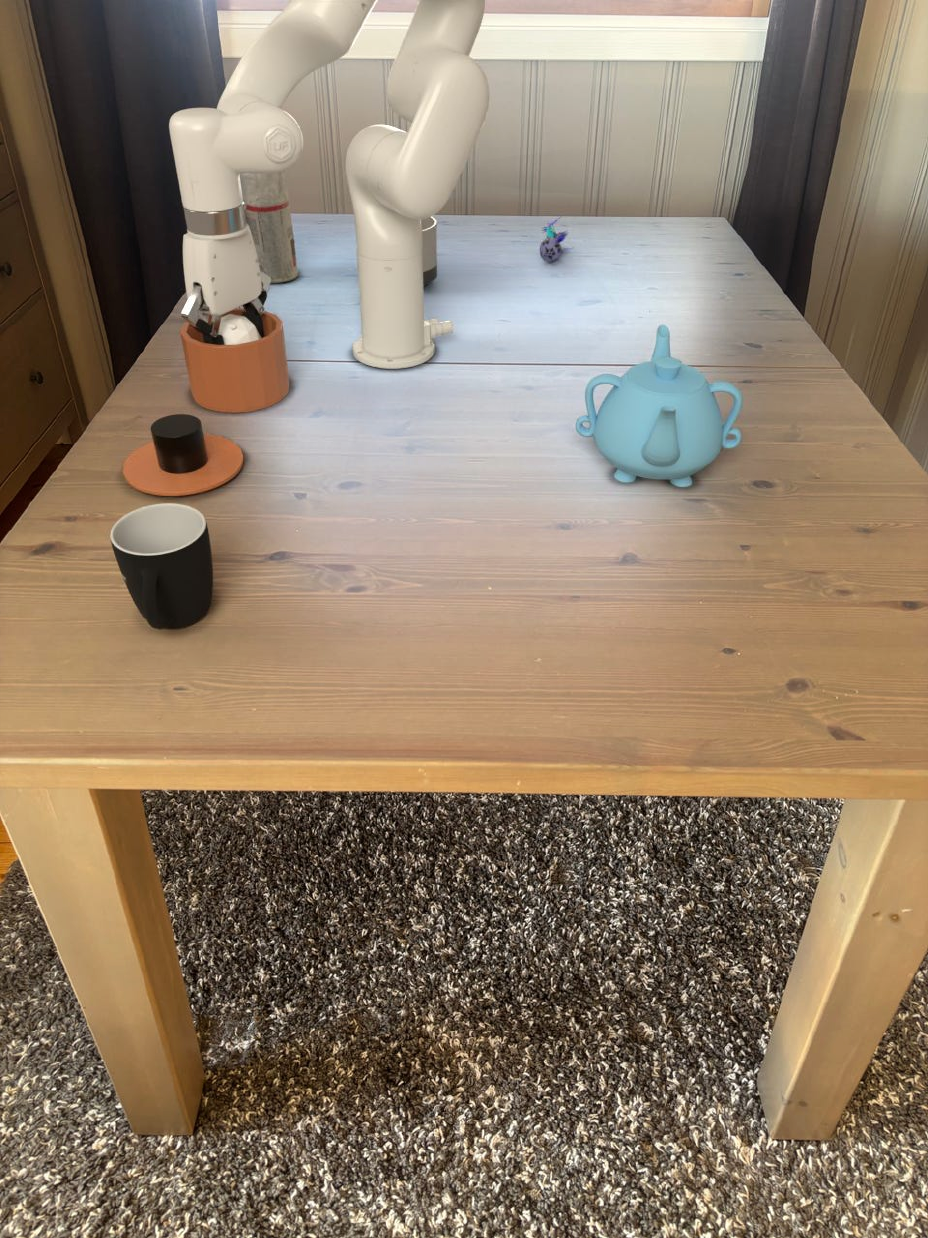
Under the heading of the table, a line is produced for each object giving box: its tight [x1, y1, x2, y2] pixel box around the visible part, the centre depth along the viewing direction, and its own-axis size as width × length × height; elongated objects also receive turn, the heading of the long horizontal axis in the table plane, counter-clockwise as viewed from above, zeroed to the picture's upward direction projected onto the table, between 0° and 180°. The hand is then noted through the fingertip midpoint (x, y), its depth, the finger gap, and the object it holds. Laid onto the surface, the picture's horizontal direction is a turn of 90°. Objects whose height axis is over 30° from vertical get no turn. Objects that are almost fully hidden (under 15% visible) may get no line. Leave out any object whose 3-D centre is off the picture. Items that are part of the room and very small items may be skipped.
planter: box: [420, 216, 438, 287], centre depth 166 cm, size 13×13×10 cm
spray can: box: [240, 171, 299, 284], centre depth 164 cm, size 8×8×20 cm
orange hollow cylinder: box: [179, 307, 290, 414], centre depth 132 cm, size 14×14×10 cm
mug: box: [109, 502, 214, 630], centre depth 92 cm, size 12×9×10 cm
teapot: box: [575, 324, 744, 488], centre depth 115 cm, size 16×20×14 cm
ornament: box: [218, 314, 261, 345], centre depth 130 cm, size 7×7×8 cm
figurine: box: [539, 216, 573, 264], centre depth 180 cm, size 7×6×12 cm
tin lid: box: [122, 413, 244, 497], centre depth 116 cm, size 15×15×6 cm
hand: (236, 350), depth 131 cm, fingers closed on ornament, 7 cm apart
